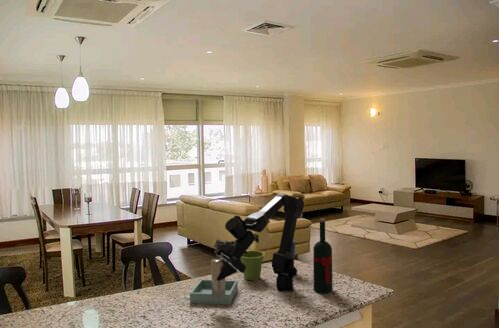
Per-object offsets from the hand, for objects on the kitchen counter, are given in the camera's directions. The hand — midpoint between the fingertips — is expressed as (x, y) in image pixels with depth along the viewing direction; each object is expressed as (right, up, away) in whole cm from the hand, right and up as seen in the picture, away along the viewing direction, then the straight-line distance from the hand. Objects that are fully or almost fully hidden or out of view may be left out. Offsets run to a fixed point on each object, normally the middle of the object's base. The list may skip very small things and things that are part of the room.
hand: (214, 278), depth 148 cm
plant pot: (+14, -11, +37) cm, 41 cm away
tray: (-1, -12, +16) cm, 20 cm away
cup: (+31, -10, +44) cm, 55 cm away
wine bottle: (+44, -11, +19) cm, 49 cm away
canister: (+1, -7, +1) cm, 7 cm away
